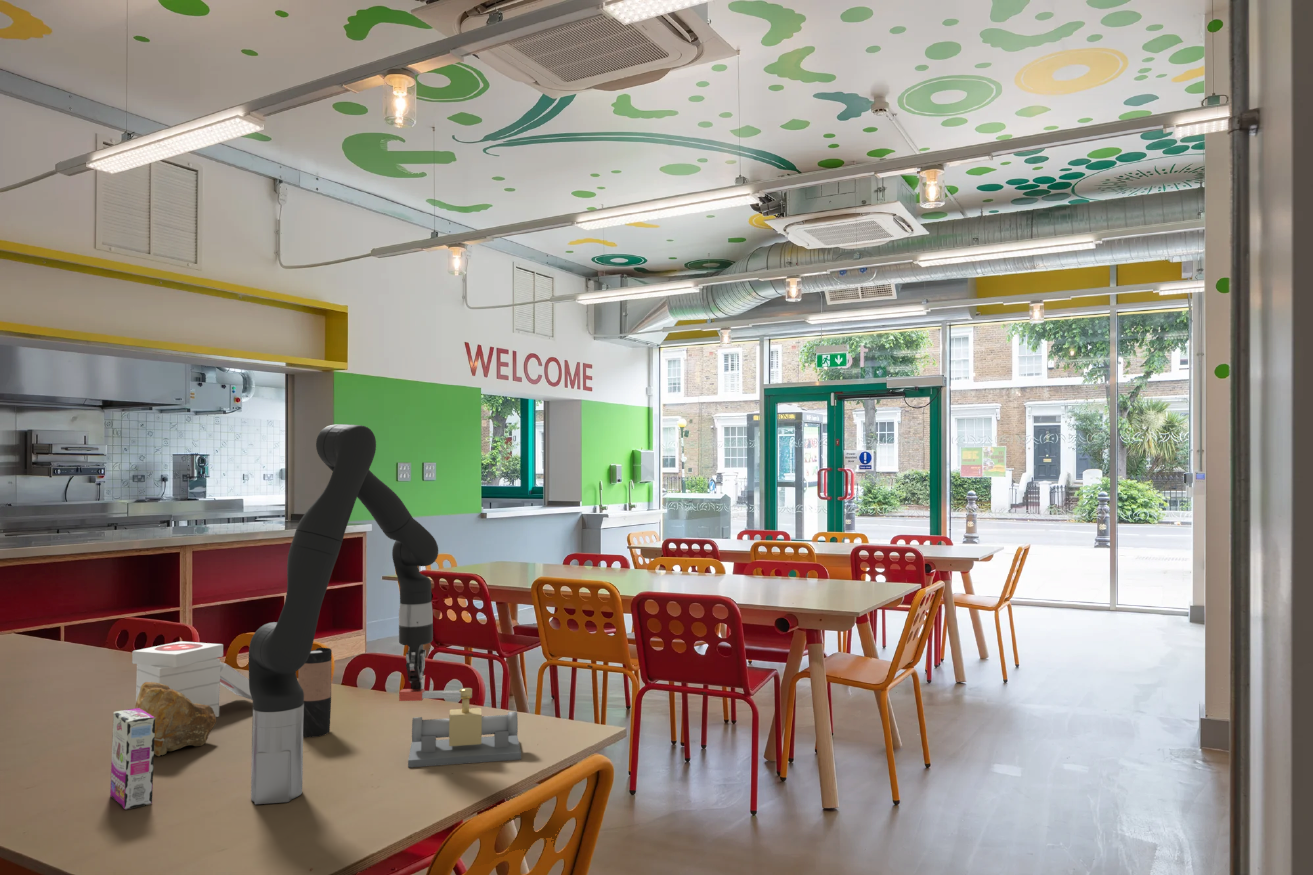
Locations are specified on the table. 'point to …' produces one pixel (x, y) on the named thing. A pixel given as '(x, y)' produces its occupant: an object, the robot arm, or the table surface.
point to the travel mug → (316, 692)
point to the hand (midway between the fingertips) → (416, 697)
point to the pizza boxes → (190, 671)
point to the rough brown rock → (175, 717)
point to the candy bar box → (132, 758)
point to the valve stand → (464, 738)
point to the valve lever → (433, 694)
